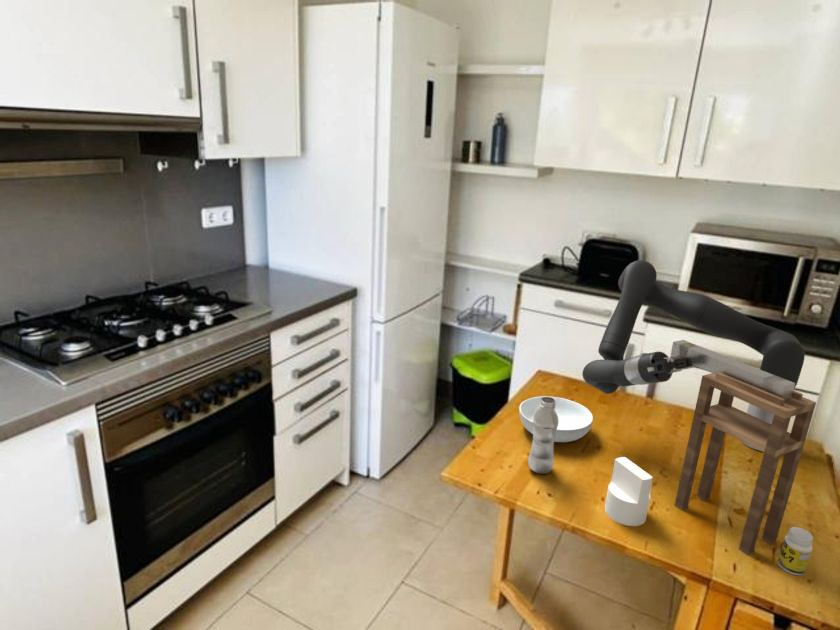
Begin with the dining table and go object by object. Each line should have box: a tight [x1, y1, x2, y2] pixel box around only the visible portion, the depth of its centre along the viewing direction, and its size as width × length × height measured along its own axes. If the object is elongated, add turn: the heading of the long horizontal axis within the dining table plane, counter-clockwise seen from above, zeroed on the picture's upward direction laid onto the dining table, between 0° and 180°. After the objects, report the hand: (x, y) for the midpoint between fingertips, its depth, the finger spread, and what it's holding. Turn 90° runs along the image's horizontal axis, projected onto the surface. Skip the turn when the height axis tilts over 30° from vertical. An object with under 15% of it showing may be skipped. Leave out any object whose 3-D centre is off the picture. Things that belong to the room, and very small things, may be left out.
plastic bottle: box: [527, 396, 559, 475], centre depth 139 cm, size 6×7×20 cm
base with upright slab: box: [604, 456, 654, 527], centre depth 125 cm, size 9×9×12 cm
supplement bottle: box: [777, 526, 814, 576], centre depth 111 cm, size 5×5×8 cm
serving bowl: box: [518, 395, 594, 443], centre depth 160 cm, size 21×21×7 cm
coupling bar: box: [669, 339, 796, 401], centre depth 120 cm, size 4×26×4 cm, turn 27°
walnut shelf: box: [674, 372, 817, 556], centre depth 119 cm, size 10×18×35 cm, turn 28°
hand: (703, 358), depth 125 cm, fingers open, 8 cm apart
